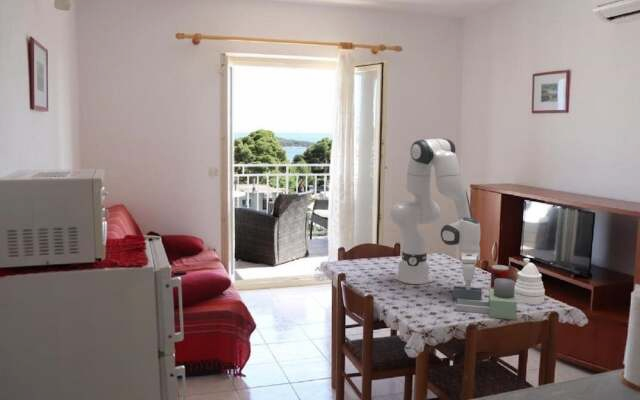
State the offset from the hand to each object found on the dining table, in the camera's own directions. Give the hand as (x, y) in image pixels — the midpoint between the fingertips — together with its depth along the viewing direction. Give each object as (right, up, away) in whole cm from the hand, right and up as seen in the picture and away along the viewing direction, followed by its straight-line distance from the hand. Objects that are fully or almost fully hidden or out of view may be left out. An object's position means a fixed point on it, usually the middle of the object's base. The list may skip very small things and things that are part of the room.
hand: (468, 286), depth 243 cm
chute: (0, -6, +2) cm, 6 cm away
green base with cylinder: (+3, -8, -13) cm, 16 cm away
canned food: (+18, -4, +16) cm, 25 cm away
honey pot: (+27, -6, +1) cm, 27 cm away
